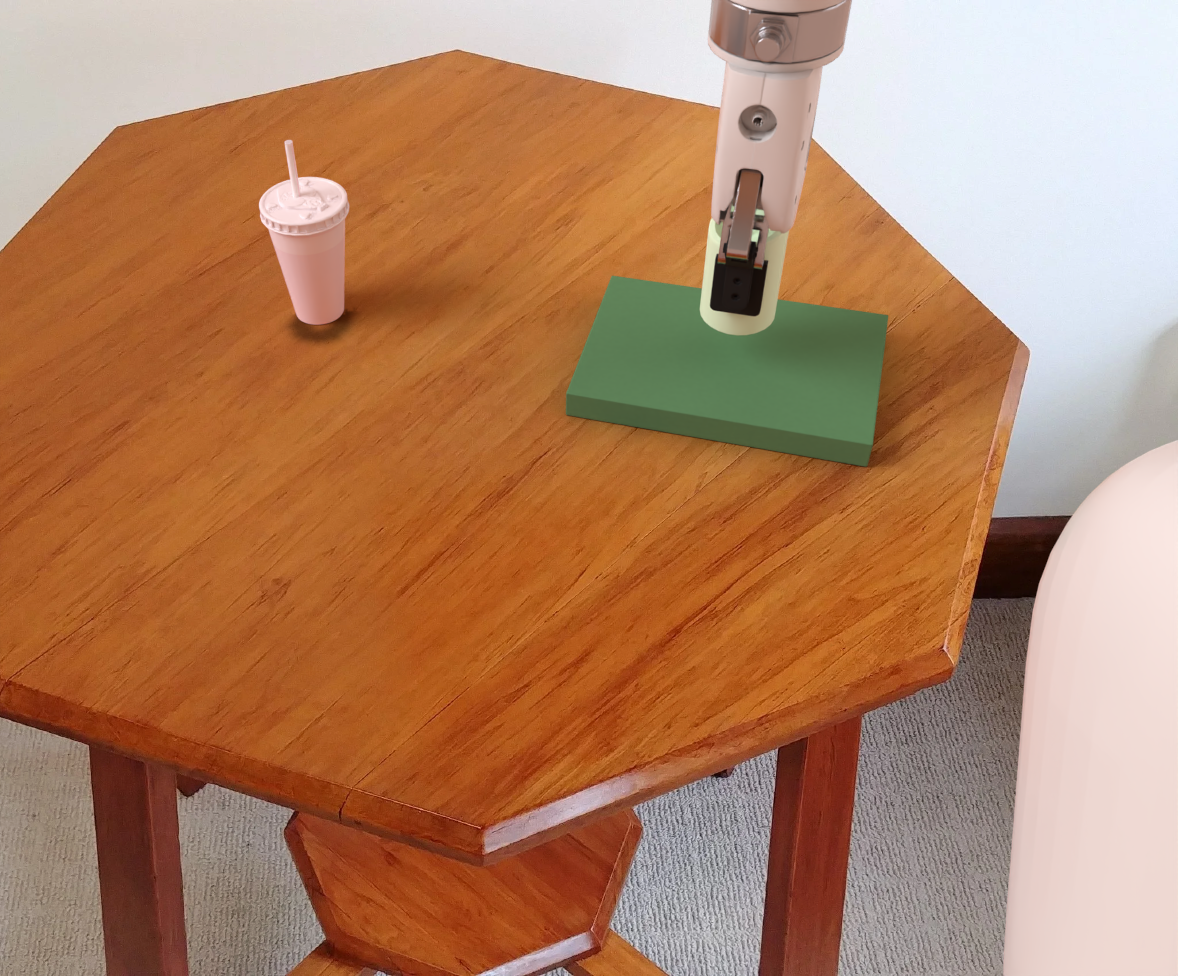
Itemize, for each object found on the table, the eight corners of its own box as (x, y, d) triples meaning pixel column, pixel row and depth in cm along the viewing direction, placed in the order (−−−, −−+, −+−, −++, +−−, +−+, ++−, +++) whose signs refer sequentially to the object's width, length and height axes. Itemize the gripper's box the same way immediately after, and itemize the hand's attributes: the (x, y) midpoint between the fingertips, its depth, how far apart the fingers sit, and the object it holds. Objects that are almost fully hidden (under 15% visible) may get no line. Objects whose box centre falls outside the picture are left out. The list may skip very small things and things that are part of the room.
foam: (883, 336, 89) (888, 314, 88) (867, 467, 80) (873, 444, 78) (610, 296, 94) (611, 274, 93) (565, 415, 85) (565, 393, 83)
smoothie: (315, 275, 98) (290, 112, 88) (379, 302, 95) (360, 136, 85) (260, 317, 94) (228, 152, 84) (325, 346, 91) (299, 178, 81)
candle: (722, 345, 81) (736, 241, 76) (686, 301, 85) (696, 199, 79) (789, 324, 83) (807, 220, 77) (750, 282, 86) (765, 180, 80)
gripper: (832, 96, 62) (782, 376, 75) (861, -39, 73) (813, 225, 86) (683, 81, 64) (659, 357, 77) (734, -48, 75) (705, 211, 88)
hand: (741, 285), depth 81 cm, fingers closed on candle, 4 cm apart
